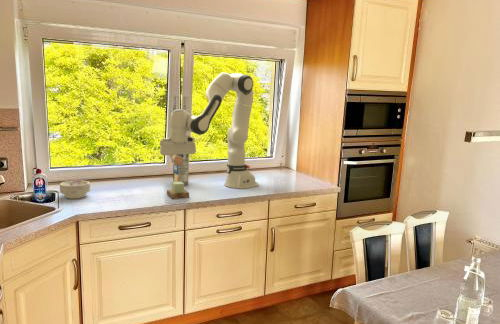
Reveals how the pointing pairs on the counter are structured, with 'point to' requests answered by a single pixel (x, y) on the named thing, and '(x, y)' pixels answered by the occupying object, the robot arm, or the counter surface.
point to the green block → (177, 187)
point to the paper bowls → (75, 188)
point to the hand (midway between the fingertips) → (178, 162)
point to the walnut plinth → (177, 194)
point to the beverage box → (181, 171)
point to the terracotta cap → (178, 160)
